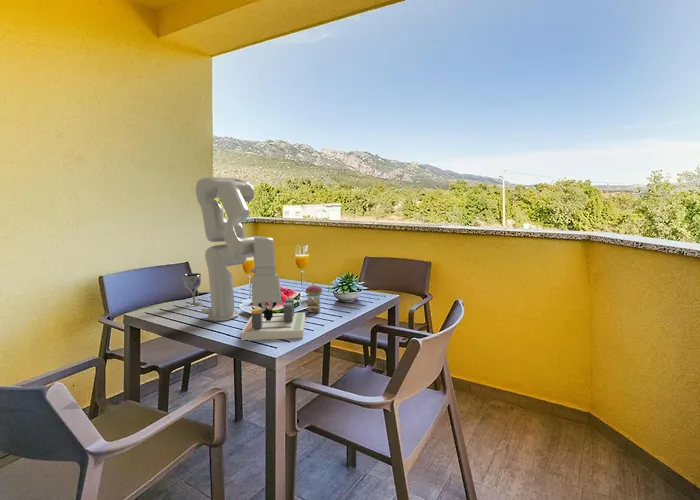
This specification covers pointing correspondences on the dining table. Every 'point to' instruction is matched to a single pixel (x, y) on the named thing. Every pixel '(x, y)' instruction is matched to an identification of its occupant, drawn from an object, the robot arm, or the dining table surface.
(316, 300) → the architectural model
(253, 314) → the grey upright block
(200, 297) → the dining table surface
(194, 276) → the wine glass
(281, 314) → the switch panel
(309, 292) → the cupcake
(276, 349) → the dining table surface
